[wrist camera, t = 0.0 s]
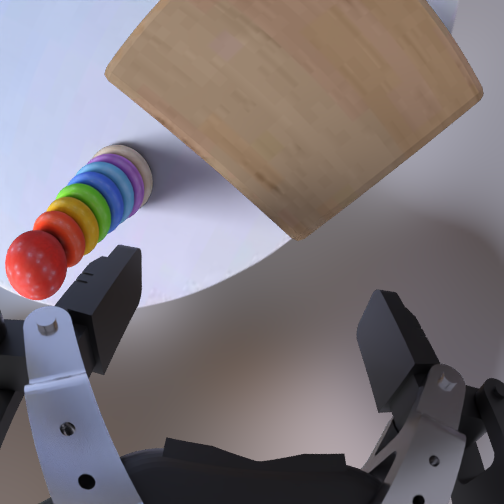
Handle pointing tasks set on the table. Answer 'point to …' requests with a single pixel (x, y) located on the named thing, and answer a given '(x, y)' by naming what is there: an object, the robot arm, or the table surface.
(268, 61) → the wooden block
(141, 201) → the stacking toy
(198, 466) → the robot arm
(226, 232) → the table surface
